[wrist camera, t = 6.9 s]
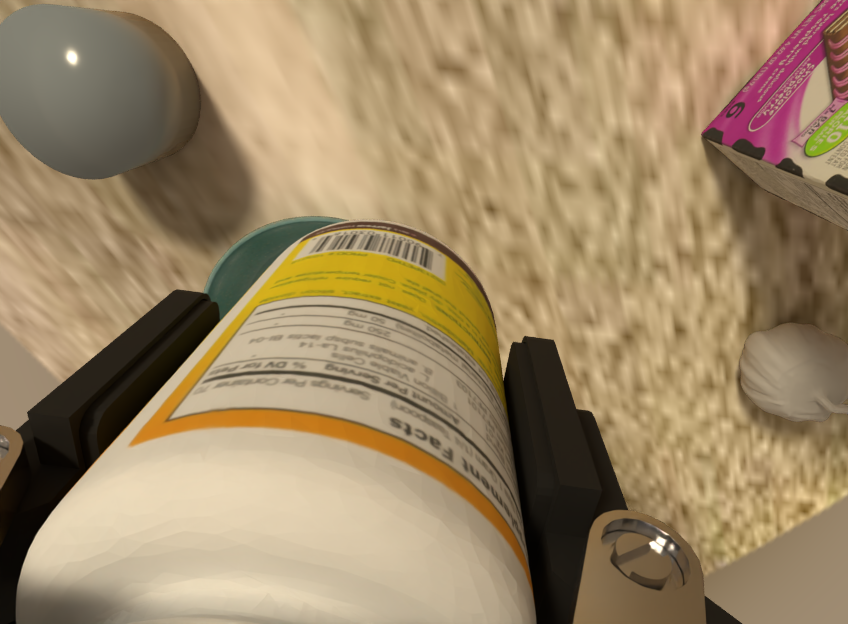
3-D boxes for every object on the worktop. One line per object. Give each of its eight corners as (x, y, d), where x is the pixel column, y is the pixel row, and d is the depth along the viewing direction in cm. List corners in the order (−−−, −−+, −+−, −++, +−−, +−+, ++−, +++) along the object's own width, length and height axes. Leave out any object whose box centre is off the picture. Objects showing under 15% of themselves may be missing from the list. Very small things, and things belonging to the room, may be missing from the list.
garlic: (845, 355, 31) (911, 409, 27) (760, 407, 33) (808, 466, 29) (790, 288, 30) (850, 333, 25) (704, 346, 32) (745, 398, 27)
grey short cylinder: (195, 21, 26) (139, 15, 21) (205, 166, 29) (158, 188, 25) (53, 3, 26) (-32, -7, 22) (79, 150, 29) (9, 169, 25)
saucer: (269, 432, 37) (256, 458, 35) (178, 233, 31) (155, 248, 29) (478, 399, 35) (479, 425, 32) (425, 176, 29) (421, 188, 26)
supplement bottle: (349, 448, 14) (154, 1138, 5) (216, 284, 13) (-451, 914, 3) (537, 364, 13) (722, 1125, 4) (418, 161, 11) (204, 702, 2)
